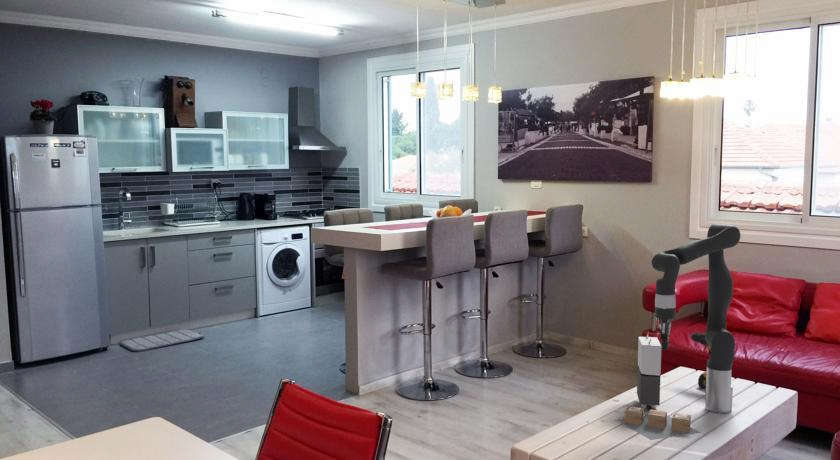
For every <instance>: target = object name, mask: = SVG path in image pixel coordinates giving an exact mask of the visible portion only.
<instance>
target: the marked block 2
mask: <svg viewBox="0 0 840 460" xmlns="http://www.w3.org/2000/svg"><path fill="white" fill-rule="evenodd" d="M671 418H672V431H676V432H683V433H689V431H690V427H691V421H692V420H691V419H692V415H691V414H686V413H678V412H673V414H672V416H671Z"/></svg>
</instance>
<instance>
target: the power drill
mask: <svg viewBox="0 0 840 460" xmlns="http://www.w3.org/2000/svg"><path fill="white" fill-rule="evenodd" d="M705 335H706V332H702V333H701V332H694V333H692V334H690V335H689V337H690V338H691V339H692V341H693V342H696V343H699V344H701V345H703V346H705V347H706V349H707V350H708V355H709V356H711V347H710V346H708V344H707V342H706V339H705ZM706 377H707V370H706V371H704V372H703V373H701V374H700V375H699V376H698V379H697V384H698V385H697V386H698V387H699V388H701V389H705V390H706Z"/></svg>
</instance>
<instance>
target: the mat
mask: <svg viewBox="0 0 840 460" xmlns="http://www.w3.org/2000/svg"><path fill="white" fill-rule="evenodd" d="M615 421H617V422H618V423H620V424H622V425H624V426H625V427H627V428H628V429H631V430H633V431H634V432H636V433H638V434H639V435H642V436H643V437H645V438H648V439H649V440H651V441H652V440H659V439H668V438H675V437H681V436H686V435H687V436H688V435H693V434H701V433H702V432H701V431H699V430H697V429H695V428H693V427H691V426H690V431H689V433H683V432H676V431H672V416H669V415H667V425H666V427H665V430H663V429H657V428H650V427H648V414H647V415H644V421H643V423H642V425H641V426H637V425H631V424H625V417H624V418H623V417H622V418H617V419H615Z"/></svg>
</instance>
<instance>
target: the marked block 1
mask: <svg viewBox="0 0 840 460" xmlns="http://www.w3.org/2000/svg"><path fill="white" fill-rule="evenodd" d="M644 413H645V408H642V407H636V406H629V405H628V406H627V407H626V409H625V411H624V418H625V424H631V425H637V426H641V425H642V423H643V421H644V416H645V414H644Z"/></svg>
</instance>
